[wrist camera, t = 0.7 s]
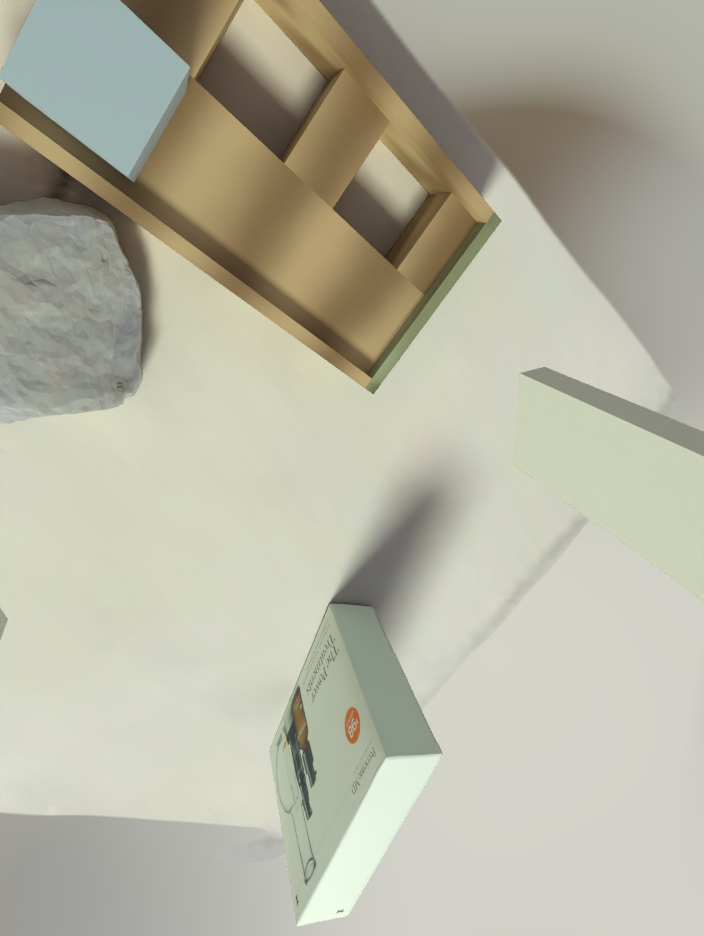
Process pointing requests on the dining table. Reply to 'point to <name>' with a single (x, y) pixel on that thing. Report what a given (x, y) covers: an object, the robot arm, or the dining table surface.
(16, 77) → the block
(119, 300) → the stone block
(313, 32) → the trap box
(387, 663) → the skincare box
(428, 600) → the dining table surface
